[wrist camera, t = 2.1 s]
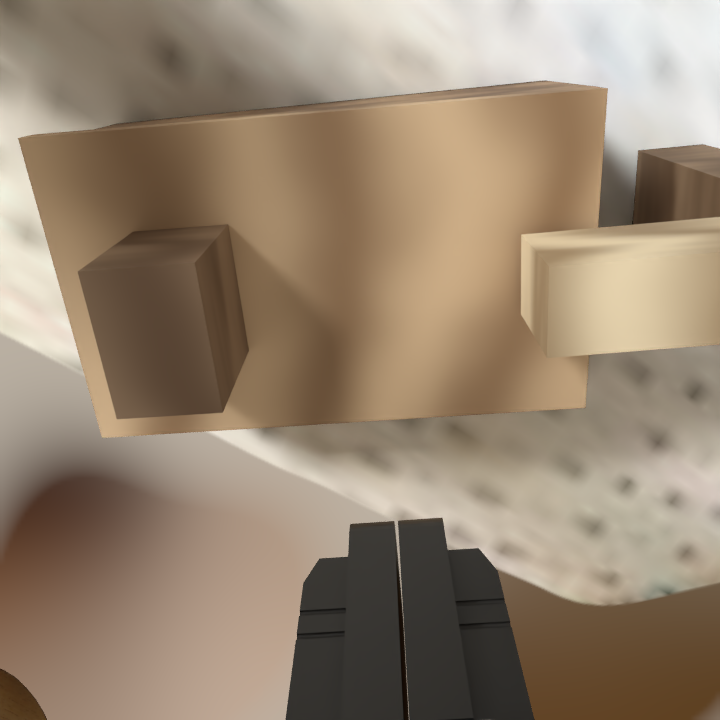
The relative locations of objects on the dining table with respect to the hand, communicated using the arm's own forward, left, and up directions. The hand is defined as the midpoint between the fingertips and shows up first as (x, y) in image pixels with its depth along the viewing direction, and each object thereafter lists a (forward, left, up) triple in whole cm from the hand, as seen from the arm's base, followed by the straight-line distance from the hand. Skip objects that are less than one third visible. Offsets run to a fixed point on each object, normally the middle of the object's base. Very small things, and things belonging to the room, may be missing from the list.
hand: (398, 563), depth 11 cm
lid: (-2, 0, -16) cm, 16 cm away
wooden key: (+11, 0, -15) cm, 18 cm away
